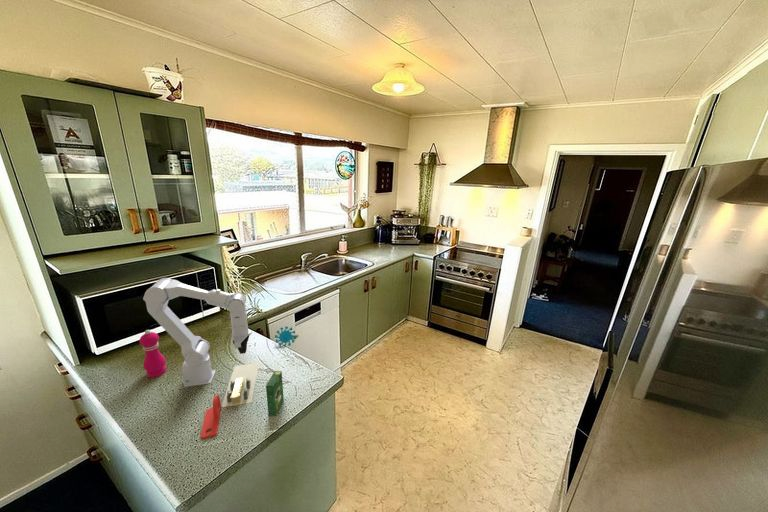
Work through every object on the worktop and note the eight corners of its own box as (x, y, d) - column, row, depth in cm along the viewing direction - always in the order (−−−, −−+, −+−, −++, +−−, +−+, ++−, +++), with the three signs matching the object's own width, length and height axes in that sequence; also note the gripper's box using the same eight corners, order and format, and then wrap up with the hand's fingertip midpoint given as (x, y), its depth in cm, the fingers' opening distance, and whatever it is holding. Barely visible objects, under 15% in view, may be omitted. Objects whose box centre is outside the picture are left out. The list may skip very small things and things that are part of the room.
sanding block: (232, 404, 106) (231, 397, 105) (237, 385, 115) (236, 378, 114) (240, 403, 106) (239, 396, 105) (245, 383, 115) (244, 377, 114)
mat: (221, 408, 104) (221, 407, 104) (234, 366, 125) (234, 366, 125) (251, 403, 107) (251, 402, 107) (259, 363, 128) (259, 362, 128)
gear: (273, 346, 138) (276, 325, 142) (273, 348, 143) (276, 328, 147) (297, 346, 141) (299, 326, 145) (297, 349, 146) (298, 329, 150)
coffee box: (276, 398, 109) (274, 369, 106) (284, 399, 109) (282, 370, 106) (267, 416, 102) (264, 385, 98) (275, 416, 102) (273, 386, 98)
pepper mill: (171, 370, 122) (162, 328, 116) (152, 380, 116) (141, 337, 110) (161, 364, 125) (152, 323, 119) (141, 374, 118) (131, 332, 112)
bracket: (207, 411, 103) (203, 393, 100) (221, 408, 104) (218, 390, 102) (200, 440, 92) (196, 421, 90) (216, 436, 94) (213, 417, 91)
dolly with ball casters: (227, 402, 106) (226, 394, 105) (232, 386, 114) (231, 379, 113) (247, 399, 108) (246, 391, 107) (250, 384, 115) (250, 377, 114)
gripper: (247, 332, 110) (250, 362, 114) (253, 313, 123) (256, 341, 127) (226, 334, 108) (230, 364, 112) (235, 315, 121) (238, 343, 125)
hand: (243, 352), depth 119 cm, fingers closed
